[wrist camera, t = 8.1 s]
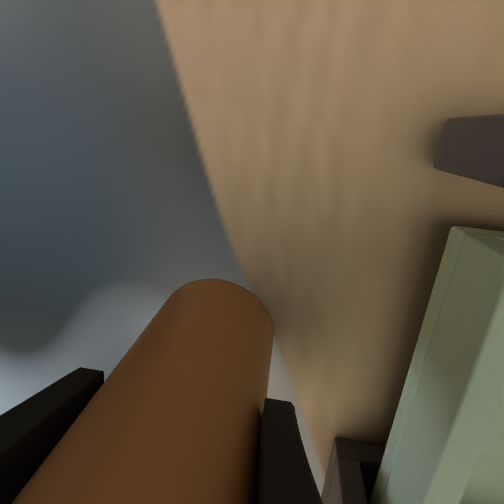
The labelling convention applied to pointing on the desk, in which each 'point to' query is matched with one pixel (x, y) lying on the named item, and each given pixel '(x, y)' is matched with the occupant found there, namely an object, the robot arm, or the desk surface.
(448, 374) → the drawer
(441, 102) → the desk surface
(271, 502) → the robot arm
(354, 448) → the cabinet
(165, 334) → the paper roll
